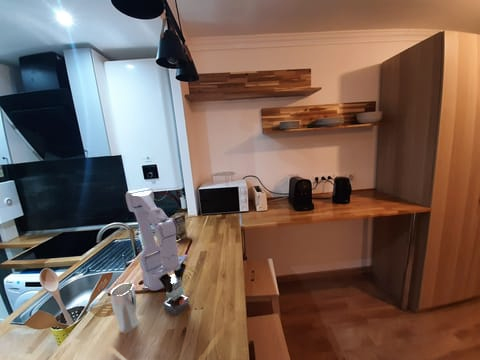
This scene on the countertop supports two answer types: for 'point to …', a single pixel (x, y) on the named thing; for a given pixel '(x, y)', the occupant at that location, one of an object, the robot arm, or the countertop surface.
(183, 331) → the countertop surface
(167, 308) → the jack base
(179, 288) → the grooved grey block
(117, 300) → the white tall cup
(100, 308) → the countertop surface
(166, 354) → the countertop surface
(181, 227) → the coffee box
